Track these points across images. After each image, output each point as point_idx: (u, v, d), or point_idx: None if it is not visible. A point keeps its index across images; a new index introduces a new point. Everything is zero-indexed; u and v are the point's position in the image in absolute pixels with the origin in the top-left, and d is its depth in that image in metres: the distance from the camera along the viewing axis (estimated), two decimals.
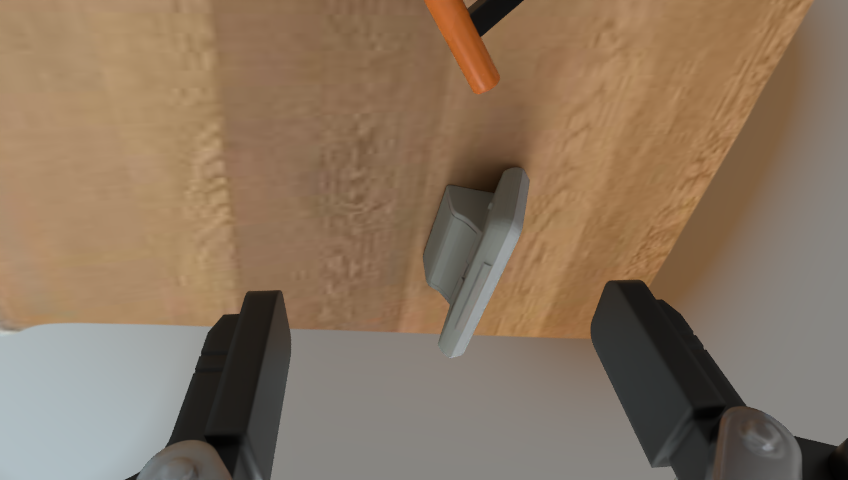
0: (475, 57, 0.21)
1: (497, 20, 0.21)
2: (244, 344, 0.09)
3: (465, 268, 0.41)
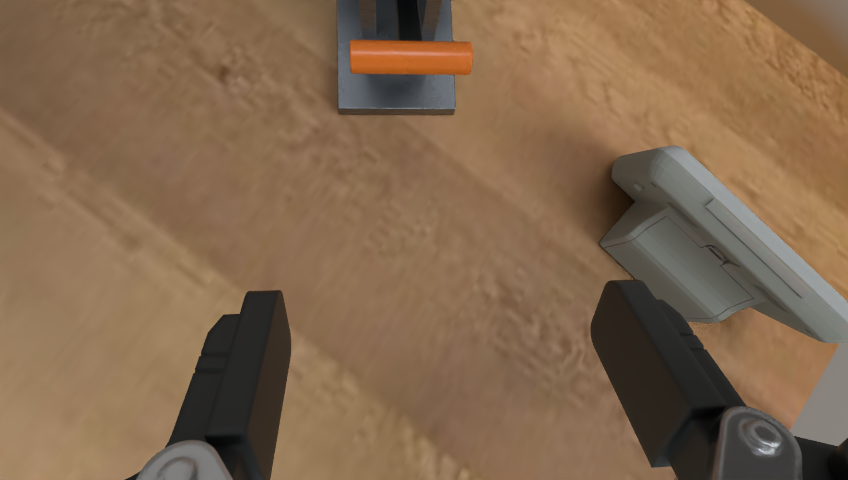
0: (434, 48, 0.21)
1: (419, 26, 0.22)
2: (244, 344, 0.09)
3: (711, 252, 0.31)
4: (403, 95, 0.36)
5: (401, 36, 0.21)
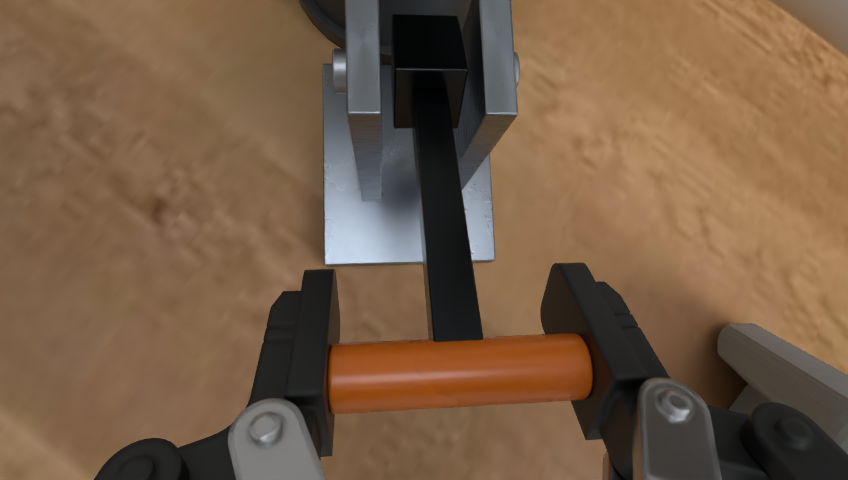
0: (513, 369, 0.10)
1: (472, 292, 0.11)
2: (309, 316, 0.10)
3: None
4: (419, 242, 0.25)
5: (438, 327, 0.10)
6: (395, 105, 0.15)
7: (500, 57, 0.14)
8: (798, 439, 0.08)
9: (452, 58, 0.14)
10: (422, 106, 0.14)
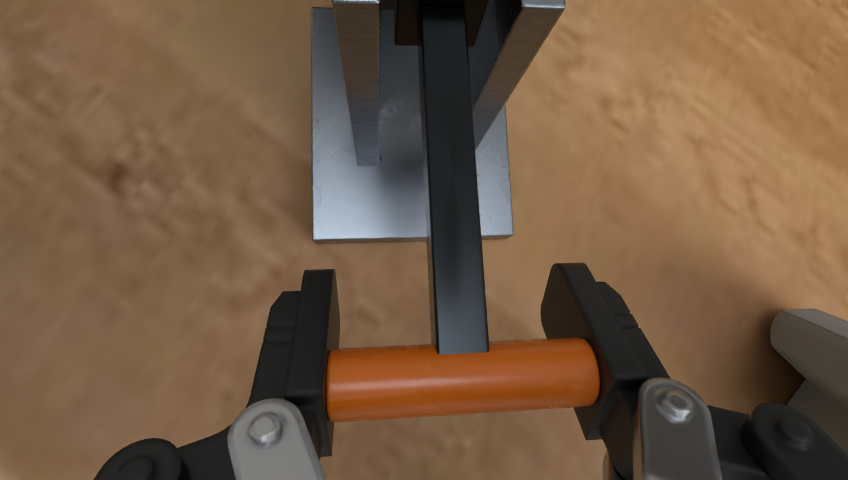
0: (518, 389, 0.09)
1: (481, 297, 0.10)
2: (308, 316, 0.10)
3: None
4: None
5: (442, 338, 0.10)
6: (397, 21, 0.12)
7: None
8: (799, 439, 0.08)
9: None
10: (432, 33, 0.11)
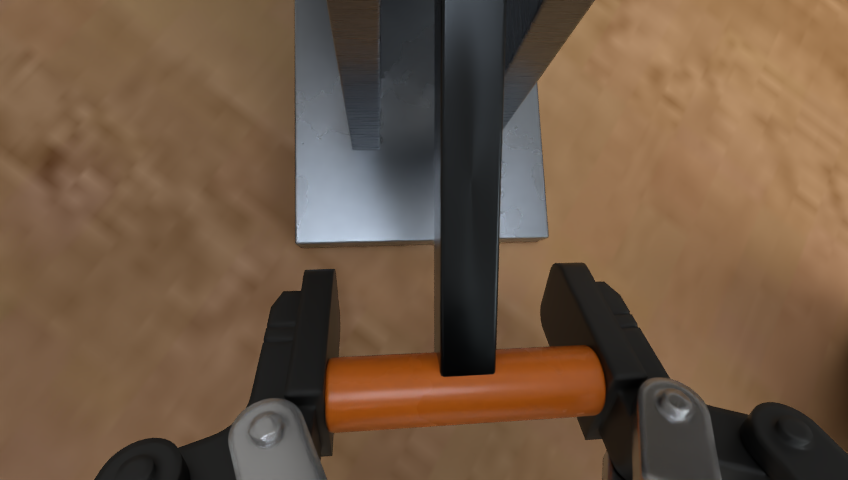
0: (521, 412, 0.09)
1: (492, 319, 0.09)
2: (309, 316, 0.10)
3: None
4: None
5: (447, 361, 0.09)
6: None
7: None
8: (798, 439, 0.08)
9: None
10: None
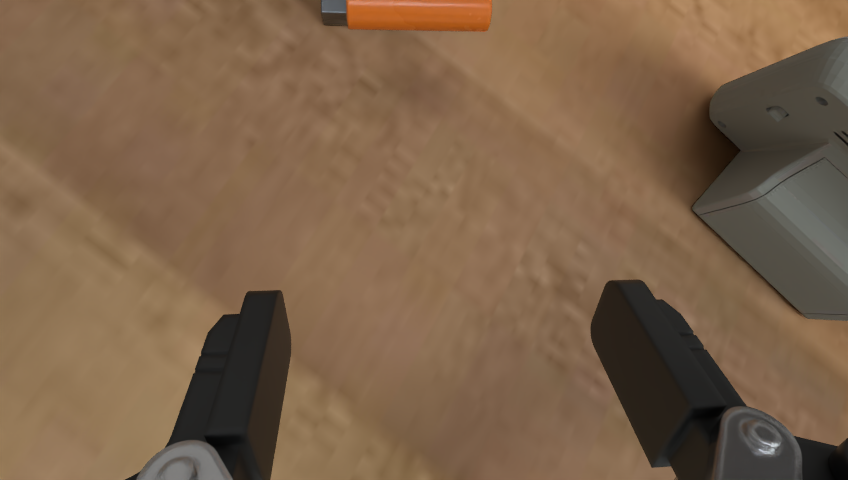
0: (447, 12, 0.18)
1: None
2: (244, 344, 0.09)
3: None
4: None
5: None
6: None
7: None
8: None
9: None
10: None
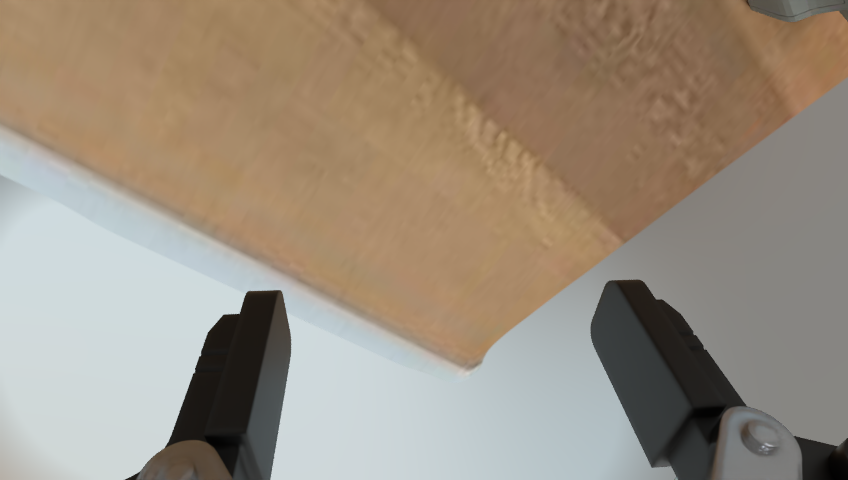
0: None
1: None
2: (244, 344, 0.09)
3: None
4: None
5: None
6: None
7: None
8: None
9: None
10: None
